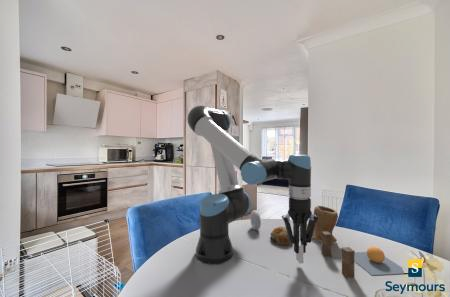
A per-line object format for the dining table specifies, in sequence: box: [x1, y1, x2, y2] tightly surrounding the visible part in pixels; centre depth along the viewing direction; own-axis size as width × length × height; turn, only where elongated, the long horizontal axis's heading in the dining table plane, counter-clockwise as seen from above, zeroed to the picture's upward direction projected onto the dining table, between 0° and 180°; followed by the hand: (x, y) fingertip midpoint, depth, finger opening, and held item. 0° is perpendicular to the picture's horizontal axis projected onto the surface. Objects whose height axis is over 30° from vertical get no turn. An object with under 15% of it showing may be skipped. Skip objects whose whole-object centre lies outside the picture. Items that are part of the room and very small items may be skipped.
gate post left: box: [321, 231, 333, 258], centre depth 80 cm, size 3×3×9 cm
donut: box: [250, 209, 262, 231], centre depth 105 cm, size 10×4×10 cm, turn 9°
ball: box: [366, 246, 386, 263], centre depth 75 cm, size 6×6×6 cm
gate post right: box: [341, 246, 356, 279], centre depth 68 cm, size 3×3×9 cm
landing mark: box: [354, 251, 405, 277], centre depth 75 cm, size 14×14×1 cm
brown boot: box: [306, 205, 339, 244], centre depth 95 cm, size 15×12×15 cm
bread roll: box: [269, 226, 293, 246], centre depth 93 cm, size 10×10×8 cm
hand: (299, 261), depth 73 cm, fingers closed
